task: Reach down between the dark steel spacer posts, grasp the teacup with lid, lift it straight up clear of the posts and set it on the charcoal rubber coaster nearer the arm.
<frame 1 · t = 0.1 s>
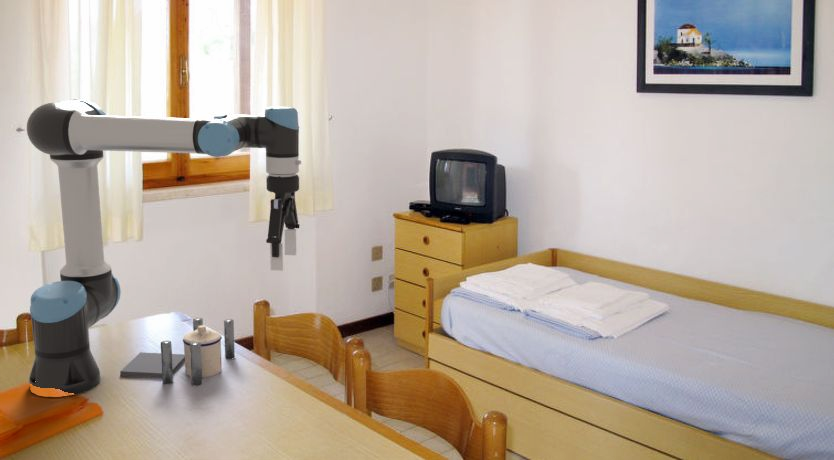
hand: (284, 262, 187), 28 cm above the table, fingers open, 13 cm apart
post back left: (199, 356, 202), on the table
coaster: (154, 367, 194), on the table
post front right: (197, 383, 186), on the table
post front left: (168, 382, 186), on the table
post back right: (229, 357, 201), on the table
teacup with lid: (200, 370, 194), on the table
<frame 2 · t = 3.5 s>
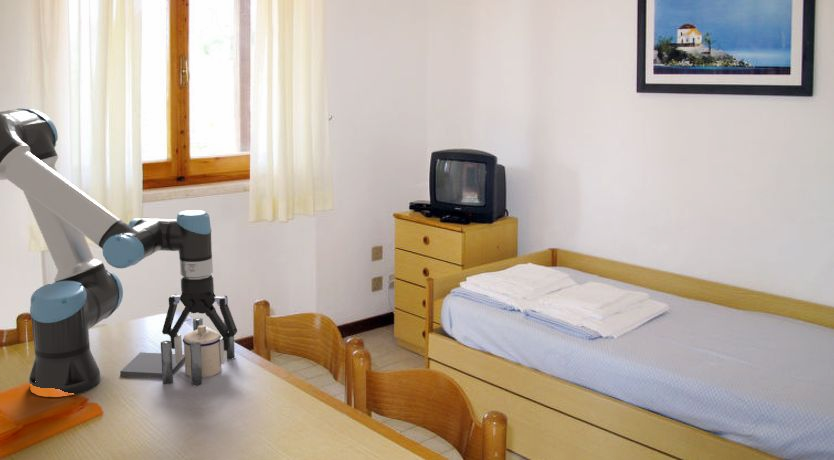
hand: (201, 361, 193), 2 cm above the table, fingers open, 10 cm apart
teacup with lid: (200, 370, 194), on the table, touching gripper
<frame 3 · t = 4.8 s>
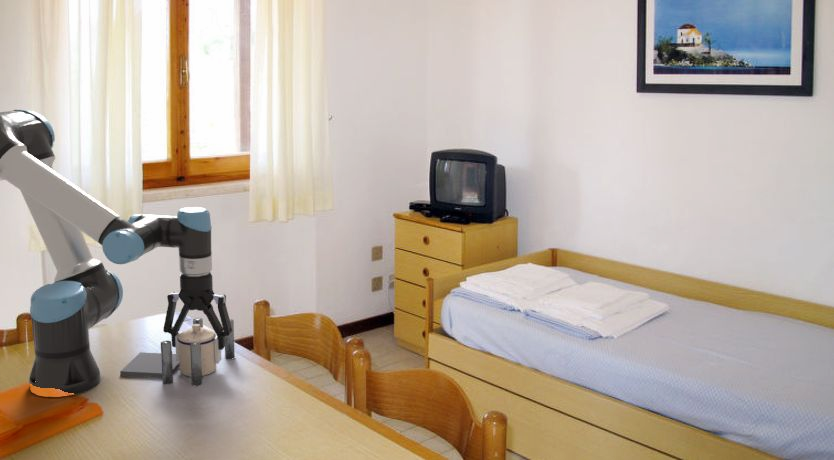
hand: (198, 360, 193), 2 cm above the table, fingers closed on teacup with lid, 9 cm apart
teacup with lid: (194, 368, 194), on the table, touching gripper
when the fingers open (4 cm above the table, at t = 11.5 s): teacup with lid stays where it is, resting on coaster.
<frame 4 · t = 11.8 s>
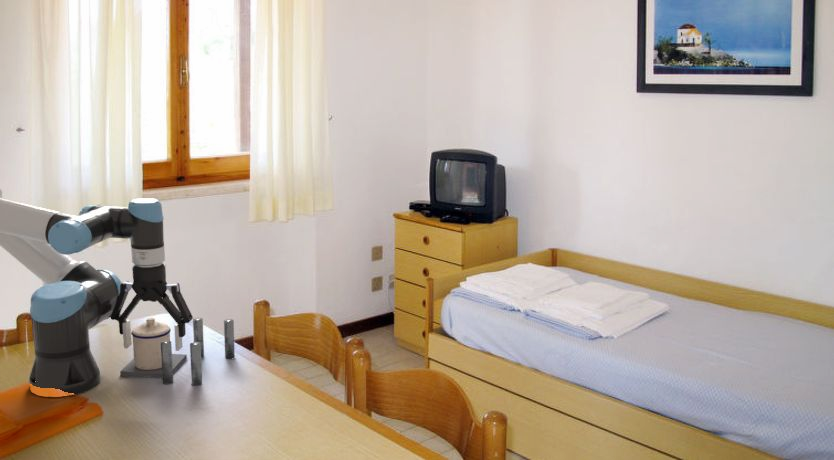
hand: (153, 347, 193), 5 cm above the table, fingers open, 12 cm apart
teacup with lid: (149, 362, 194), point 1 cm above the table, touching coaster
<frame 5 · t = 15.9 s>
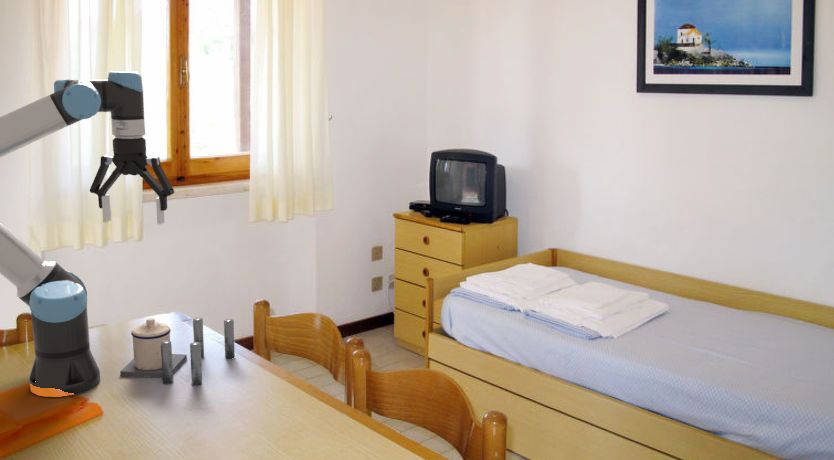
hand: (134, 222, 195), 35 cm above the table, fingers open, 13 cm apart
nothing on the table moved.
at the end: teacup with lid inside the target area on the coaster (1.2 cm from its centre), point 1.0 cm above the coaster's base; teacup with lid tilted 0°; the gripper is holding nothing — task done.
